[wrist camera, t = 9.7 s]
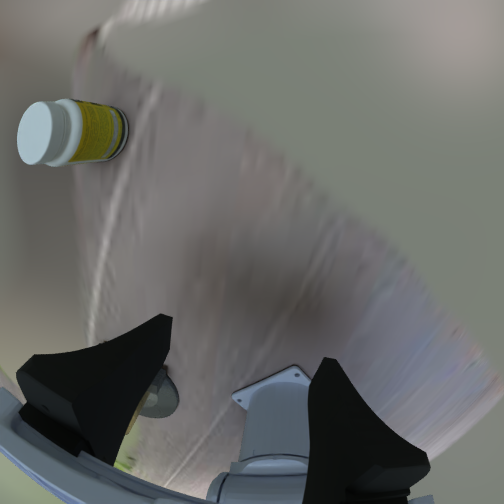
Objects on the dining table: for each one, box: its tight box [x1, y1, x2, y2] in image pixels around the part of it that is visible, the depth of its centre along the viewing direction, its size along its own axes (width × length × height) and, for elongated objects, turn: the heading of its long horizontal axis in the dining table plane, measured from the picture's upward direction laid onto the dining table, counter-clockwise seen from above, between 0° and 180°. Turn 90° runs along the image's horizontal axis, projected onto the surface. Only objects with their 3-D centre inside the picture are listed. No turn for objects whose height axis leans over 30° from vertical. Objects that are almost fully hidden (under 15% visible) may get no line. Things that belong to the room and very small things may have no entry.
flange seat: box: [98, 343, 179, 418], centre depth 26 cm, size 11×11×3 cm
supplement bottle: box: [17, 99, 128, 167], centre depth 15 cm, size 5×5×8 cm
